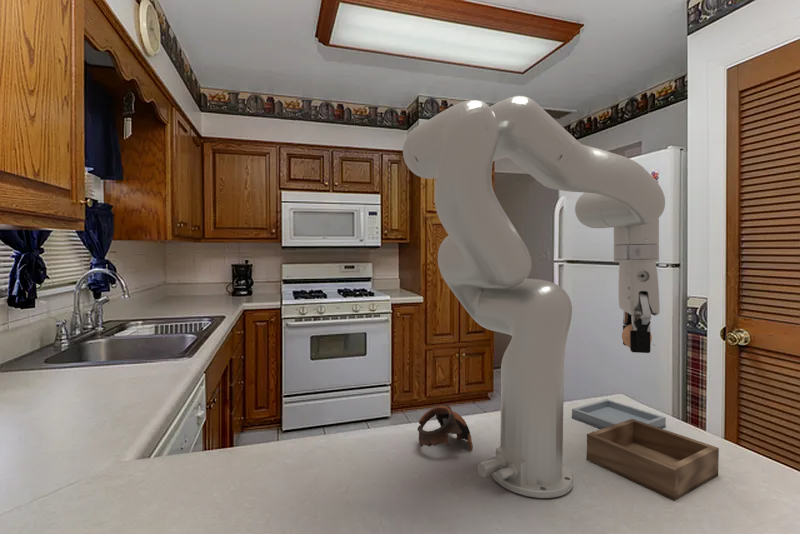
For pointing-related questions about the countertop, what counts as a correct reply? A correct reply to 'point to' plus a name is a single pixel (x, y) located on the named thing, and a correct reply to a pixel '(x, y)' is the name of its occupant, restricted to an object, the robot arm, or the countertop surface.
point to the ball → (627, 335)
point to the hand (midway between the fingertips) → (636, 347)
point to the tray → (614, 414)
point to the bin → (653, 457)
